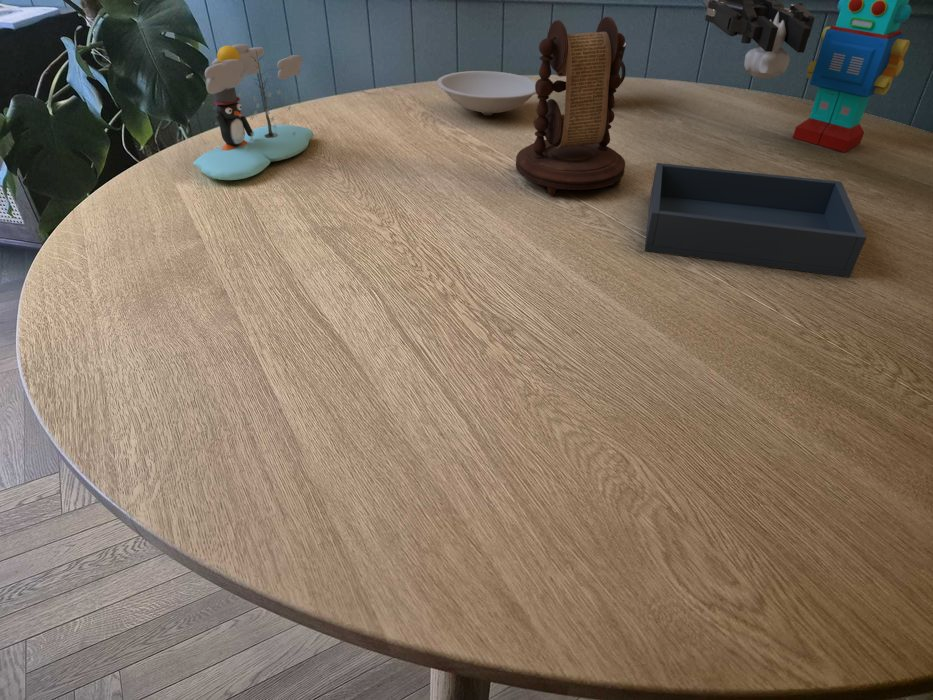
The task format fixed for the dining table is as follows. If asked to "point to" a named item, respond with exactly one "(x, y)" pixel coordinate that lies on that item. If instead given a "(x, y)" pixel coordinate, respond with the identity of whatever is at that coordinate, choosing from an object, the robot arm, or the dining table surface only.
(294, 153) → the penguin figurine
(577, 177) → the scroll
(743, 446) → the dining table surface
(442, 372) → the dining table surface
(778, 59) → the white figurine
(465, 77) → the dish
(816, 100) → the toy robot
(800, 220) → the bin
